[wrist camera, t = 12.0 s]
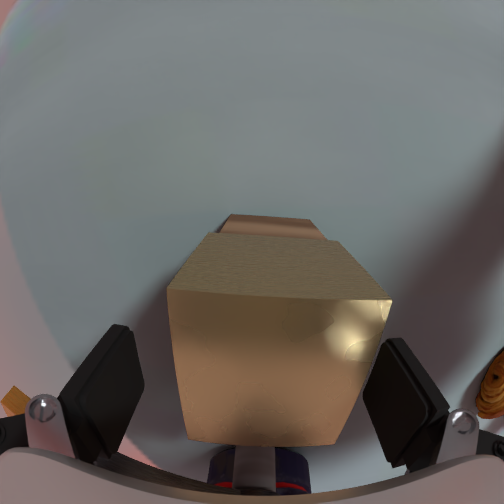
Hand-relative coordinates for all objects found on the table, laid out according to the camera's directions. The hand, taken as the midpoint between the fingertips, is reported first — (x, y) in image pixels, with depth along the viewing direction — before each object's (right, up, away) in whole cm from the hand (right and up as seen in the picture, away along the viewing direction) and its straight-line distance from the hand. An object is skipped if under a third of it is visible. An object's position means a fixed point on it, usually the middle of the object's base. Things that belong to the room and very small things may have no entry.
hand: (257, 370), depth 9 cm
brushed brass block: (+1, +2, +4) cm, 5 cm away
